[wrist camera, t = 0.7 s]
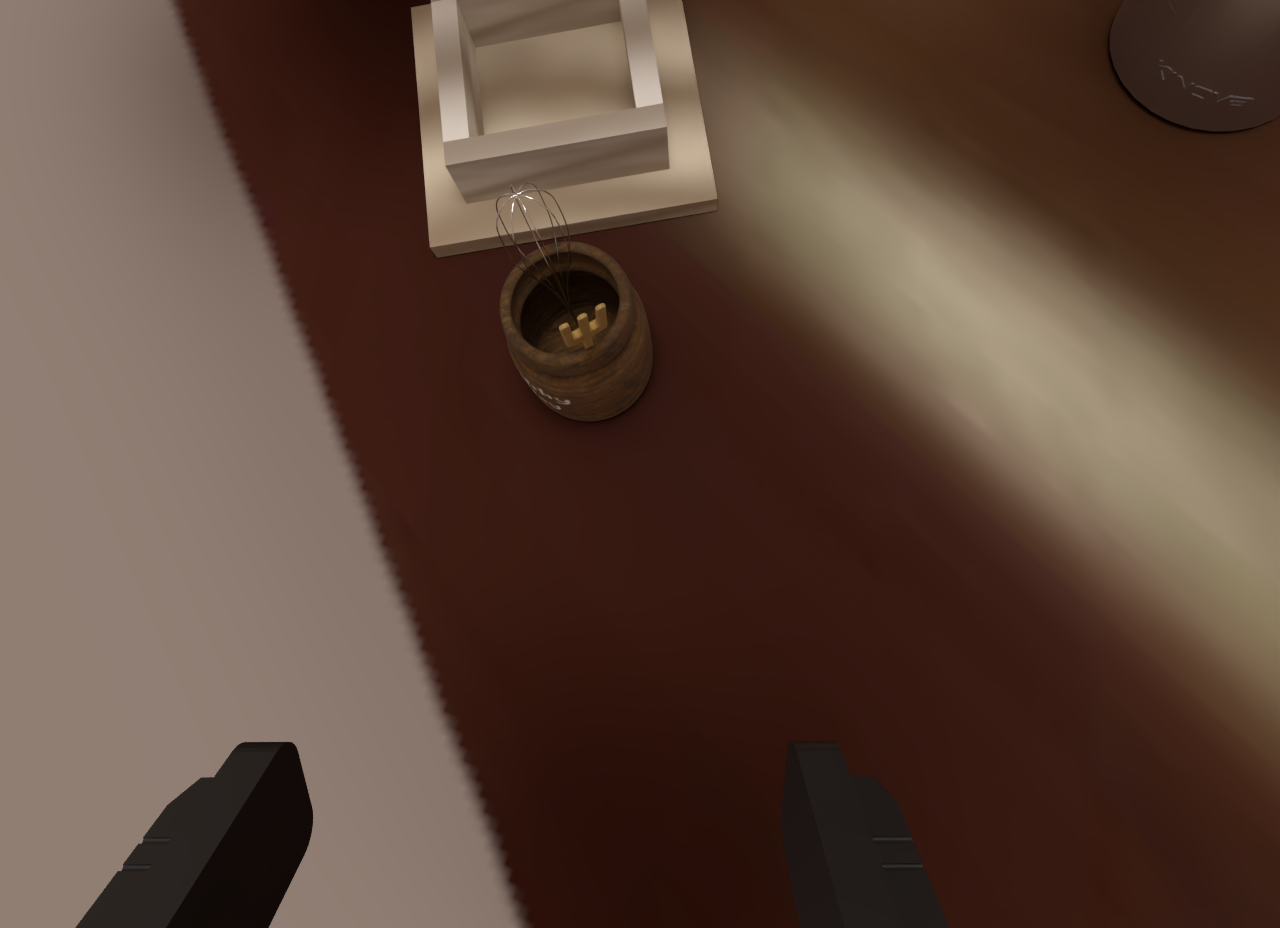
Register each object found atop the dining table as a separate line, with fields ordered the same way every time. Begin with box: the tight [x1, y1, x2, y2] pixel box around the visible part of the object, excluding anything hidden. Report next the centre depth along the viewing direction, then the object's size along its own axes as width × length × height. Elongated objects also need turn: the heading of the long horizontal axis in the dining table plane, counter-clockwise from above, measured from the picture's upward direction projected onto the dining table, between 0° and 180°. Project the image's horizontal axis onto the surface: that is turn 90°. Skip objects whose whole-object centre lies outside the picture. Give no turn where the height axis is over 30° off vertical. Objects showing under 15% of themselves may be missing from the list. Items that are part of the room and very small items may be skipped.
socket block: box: [411, 0, 718, 258], centre depth 34 cm, size 14×14×4 cm
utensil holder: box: [496, 182, 653, 421], centre depth 27 cm, size 6×6×12 cm
